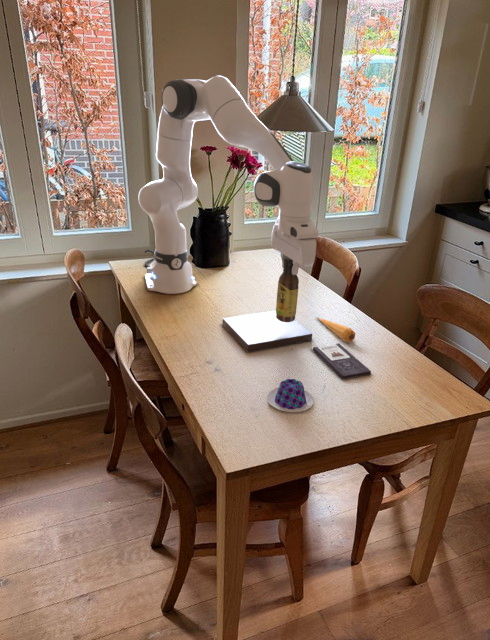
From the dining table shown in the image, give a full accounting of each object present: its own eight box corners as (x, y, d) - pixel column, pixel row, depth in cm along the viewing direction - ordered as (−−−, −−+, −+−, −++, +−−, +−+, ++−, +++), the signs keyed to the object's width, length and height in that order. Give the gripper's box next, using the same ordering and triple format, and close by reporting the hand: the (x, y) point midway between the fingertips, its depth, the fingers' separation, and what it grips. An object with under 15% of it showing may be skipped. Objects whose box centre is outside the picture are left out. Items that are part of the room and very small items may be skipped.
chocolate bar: (343, 376, 147) (313, 347, 161) (342, 379, 147) (312, 350, 161) (370, 371, 150) (338, 343, 164) (370, 374, 151) (338, 346, 165)
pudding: (323, 406, 135) (325, 389, 133) (284, 419, 129) (285, 401, 127) (295, 384, 144) (297, 367, 141) (257, 395, 138) (258, 378, 135)
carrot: (354, 345, 168) (359, 331, 167) (343, 342, 165) (349, 328, 164) (319, 325, 184) (324, 313, 183) (309, 322, 181) (314, 310, 180)
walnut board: (222, 325, 173) (222, 318, 172) (281, 316, 182) (282, 309, 181) (248, 352, 158) (248, 344, 157) (311, 340, 167) (312, 333, 166)
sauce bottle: (273, 315, 167) (277, 253, 157) (292, 314, 169) (297, 253, 159) (278, 324, 162) (283, 260, 152) (298, 322, 163) (304, 259, 153)
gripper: (267, 215, 157) (264, 261, 164) (301, 234, 141) (297, 284, 148) (286, 214, 159) (282, 259, 166) (321, 233, 144) (316, 281, 151)
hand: (289, 271), depth 157 cm, fingers closed on sauce bottle, 4 cm apart
